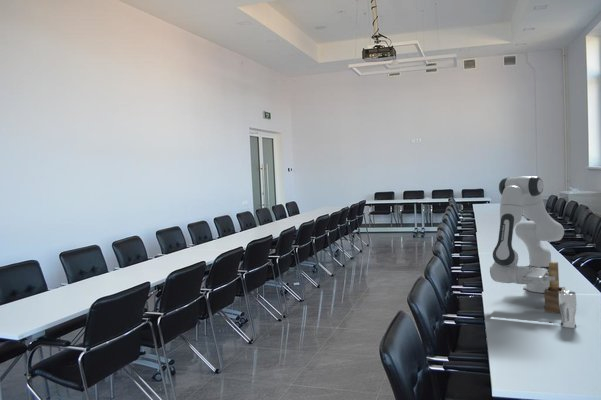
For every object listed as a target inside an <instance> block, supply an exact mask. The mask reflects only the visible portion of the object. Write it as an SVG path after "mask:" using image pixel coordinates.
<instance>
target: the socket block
mask: <svg viewBox="0 0 601 400" xmlns="http://www.w3.org/2000/svg"><path fill="white" fill-rule="evenodd" d="M560 291H566V287H565V286H563V287H562V286H559V291H551V290H550V286H547V287H546V289H545V290H544V293H543V296H544V312H547V313H557V314H561V313H560V308H559V292H560Z"/></svg>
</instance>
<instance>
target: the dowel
mask: <svg viewBox="0 0 601 400" xmlns="http://www.w3.org/2000/svg"><path fill="white" fill-rule="evenodd" d="M549 276H555V277H556V279H555V280H550V290H551V291H559V287H560V278H559V276H560V275H559V262H558V261H551V262H549Z"/></svg>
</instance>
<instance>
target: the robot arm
mask: <svg viewBox="0 0 601 400" xmlns="http://www.w3.org/2000/svg"><path fill="white" fill-rule="evenodd" d="M543 190H544V182H543V180H542V179H541V178H540V177H539V176H535V175H531V176H526V175H523V176H522V175H521V176H515V177H505V178H502V179H501V180H500V182H499V184H498V192H499V194H500V195H501V198H500V205H499V222H500V223H499V230H498V240H497V243H496V246H495V247H494V249H493V251H492V259H493V260H494V262H493V263H492V265H491V266H490V267H489V273H490V277H491V279H492V281H494V282H497V283H502V284H516V285H524V286H522V287H523V290H526V291H529V292H532V293H540V294H542V293H543V294H544V290H545V289H546V287H547V286H550V280H555V279H556V277H555V276H549V262H552V252H551V251H550V249H549V248H548V247H545V246H544V245H543V244H542V242H557V241H558V242H559V241H561V240H562V239H563V237H564V234H565V229H564V227H563V225H562V224H561V223H559V222H558V221H556V220H555V219H554V218H553V217H552V216H551V215H550V214H549V213H548V211H547V210H546V206H545V203H544V200H543V195H542V193H543ZM523 215H524V216H525V217H526V218H527V219H529V220H523V221H521V220H522V218H523ZM514 231H515V235H516V237H518V239H520V240H521V241H522V242H523V243H524V245H525V246H526V248H527V251H528V260H529V265H525V266H523V265H518V262H519V254H518V252H517V251H516V250H515V249H514V248H513V235H514Z"/></svg>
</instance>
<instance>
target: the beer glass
mask: <svg viewBox="0 0 601 400" xmlns="http://www.w3.org/2000/svg"><path fill="white" fill-rule="evenodd" d="M577 305H578V304H577V294H576V292H575V291H572V290H565V291H560V292H559V308H560V313H559V314H560V315H561V319H560V320H561V321H560V327H562V328H565V329H575V328H577V323H576V313H577V312H576V311H577V307H578V306H577Z"/></svg>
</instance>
